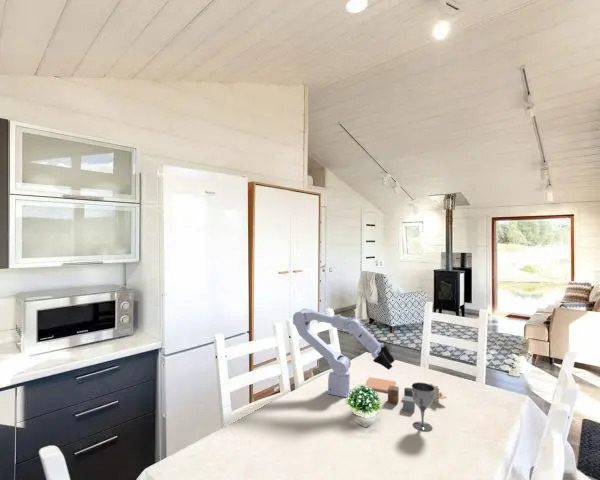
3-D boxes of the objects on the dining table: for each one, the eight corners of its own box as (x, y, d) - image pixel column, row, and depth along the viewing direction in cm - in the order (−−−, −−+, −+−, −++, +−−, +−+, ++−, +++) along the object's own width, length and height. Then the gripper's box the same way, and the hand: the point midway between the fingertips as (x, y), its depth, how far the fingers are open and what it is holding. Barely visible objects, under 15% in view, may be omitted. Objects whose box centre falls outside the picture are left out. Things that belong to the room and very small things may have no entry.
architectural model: (435, 398, 154) (435, 382, 154) (446, 405, 148) (447, 388, 148) (429, 399, 153) (429, 383, 153) (440, 407, 147) (440, 389, 147)
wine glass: (430, 434, 125) (430, 393, 125) (408, 427, 129) (408, 387, 129) (436, 425, 131) (436, 386, 131) (415, 418, 136) (415, 380, 136)
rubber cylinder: (403, 399, 152) (403, 390, 152) (404, 395, 156) (404, 387, 156) (413, 401, 151) (413, 392, 151) (414, 397, 154) (414, 388, 154)
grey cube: (402, 410, 142) (403, 399, 142) (404, 405, 146) (404, 395, 146) (414, 412, 141) (414, 401, 141) (415, 407, 145) (415, 397, 145)
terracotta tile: (364, 388, 163) (364, 386, 163) (369, 379, 174) (369, 377, 174) (392, 393, 158) (392, 391, 158) (395, 383, 169) (395, 381, 169)
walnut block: (387, 402, 149) (387, 389, 149) (389, 398, 153) (389, 385, 153) (397, 404, 147) (397, 390, 147) (398, 400, 151) (398, 387, 151)
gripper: (371, 340, 146) (396, 364, 142) (377, 331, 159) (400, 353, 155) (360, 350, 148) (384, 375, 144) (367, 341, 161) (389, 363, 157)
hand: (391, 365), depth 150 cm, fingers open, 7 cm apart
